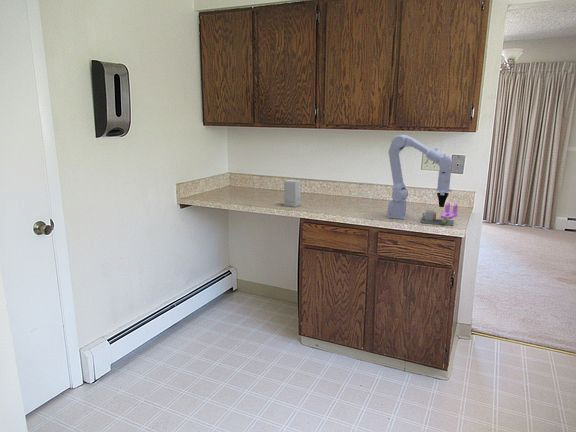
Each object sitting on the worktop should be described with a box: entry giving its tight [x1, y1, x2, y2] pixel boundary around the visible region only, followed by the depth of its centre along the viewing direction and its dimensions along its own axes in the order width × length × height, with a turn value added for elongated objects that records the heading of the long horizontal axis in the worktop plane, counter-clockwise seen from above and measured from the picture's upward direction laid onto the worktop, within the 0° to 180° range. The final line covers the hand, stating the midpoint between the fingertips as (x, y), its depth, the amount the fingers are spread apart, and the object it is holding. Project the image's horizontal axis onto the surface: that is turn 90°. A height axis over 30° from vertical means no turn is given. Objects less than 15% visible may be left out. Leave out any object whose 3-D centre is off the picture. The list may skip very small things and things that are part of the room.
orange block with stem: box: [421, 211, 437, 219], centre depth 230 cm, size 7×5×3 cm
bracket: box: [440, 202, 459, 220], centre depth 239 cm, size 13×6×7 cm, turn 145°
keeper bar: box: [442, 217, 450, 223], centre depth 222 cm, size 9×1×2 cm, turn 148°
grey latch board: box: [419, 216, 454, 227], centre depth 227 cm, size 16×12×4 cm
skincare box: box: [283, 179, 302, 208], centre depth 263 cm, size 8×7×16 cm
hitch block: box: [420, 209, 443, 221], centre depth 229 cm, size 12×6×5 cm, turn 69°
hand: (441, 206), depth 224 cm, fingers closed
